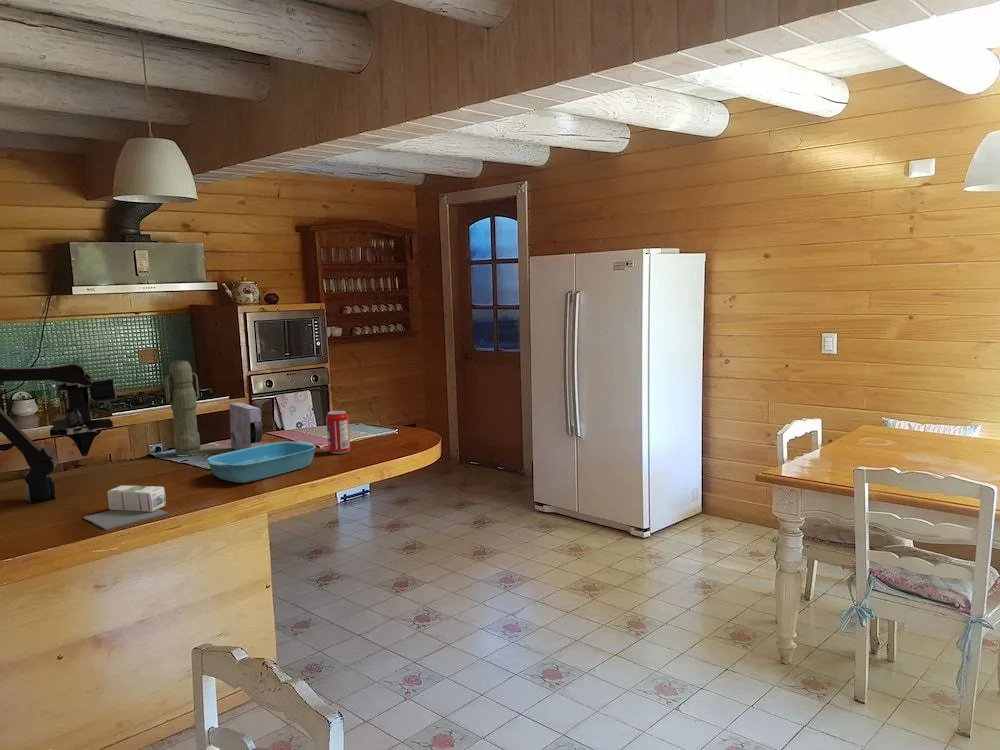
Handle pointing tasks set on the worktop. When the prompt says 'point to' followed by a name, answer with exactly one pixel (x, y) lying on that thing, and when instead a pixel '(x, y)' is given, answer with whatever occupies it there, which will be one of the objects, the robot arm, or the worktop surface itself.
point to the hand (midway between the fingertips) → (84, 456)
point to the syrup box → (136, 498)
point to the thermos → (183, 406)
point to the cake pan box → (245, 426)
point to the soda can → (338, 432)
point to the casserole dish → (262, 461)
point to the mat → (122, 518)
